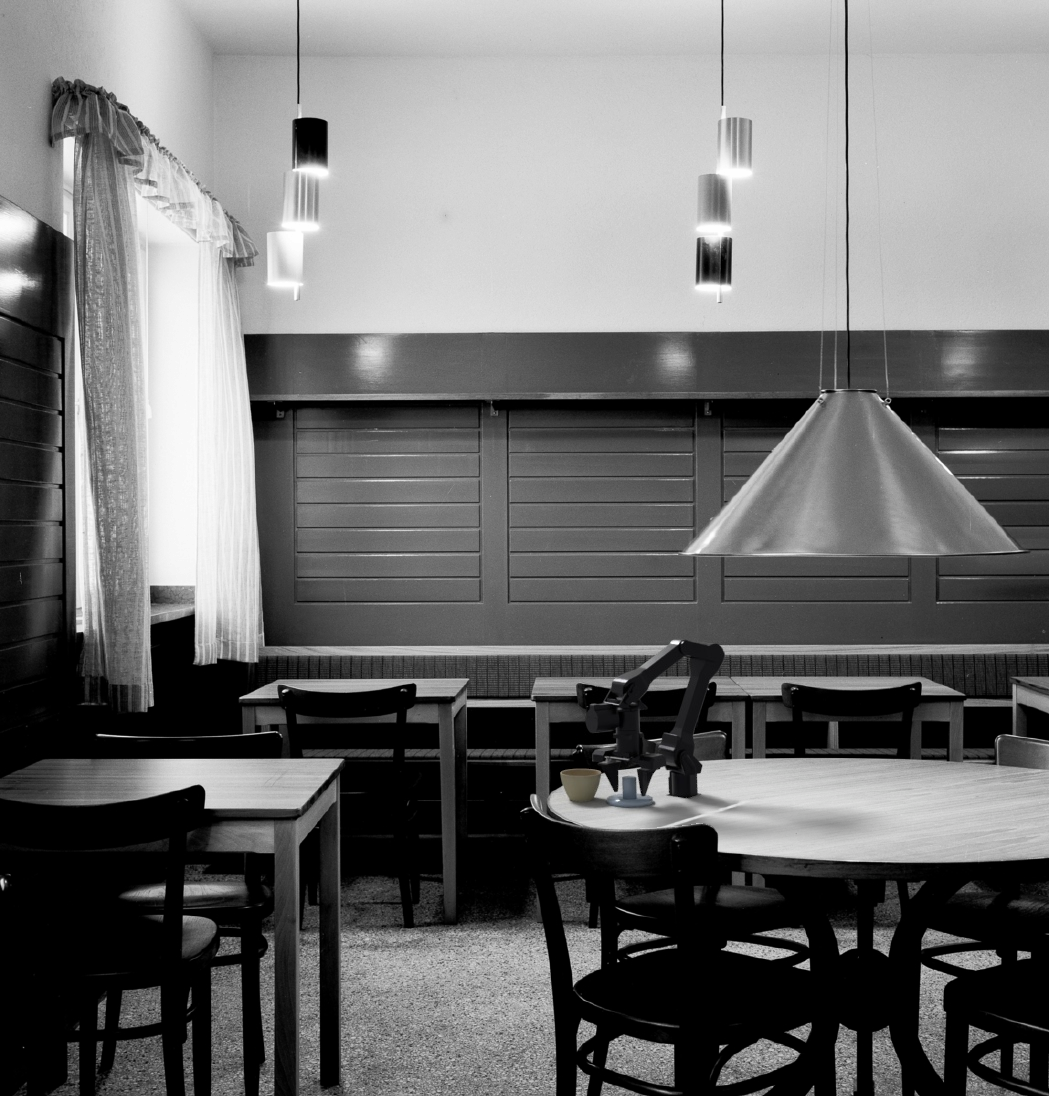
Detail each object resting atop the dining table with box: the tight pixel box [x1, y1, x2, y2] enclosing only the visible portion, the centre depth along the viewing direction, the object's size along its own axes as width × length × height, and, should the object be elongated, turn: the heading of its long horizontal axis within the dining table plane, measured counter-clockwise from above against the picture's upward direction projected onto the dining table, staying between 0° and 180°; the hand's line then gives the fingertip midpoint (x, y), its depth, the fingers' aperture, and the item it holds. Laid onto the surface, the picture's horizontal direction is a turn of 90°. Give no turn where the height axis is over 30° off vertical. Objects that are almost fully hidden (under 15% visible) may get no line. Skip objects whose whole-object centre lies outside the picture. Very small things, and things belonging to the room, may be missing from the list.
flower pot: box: [560, 768, 602, 802], centre depth 281 cm, size 10×10×7 cm
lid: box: [606, 775, 654, 808], centre depth 275 cm, size 11×11×6 cm
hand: (629, 793), depth 275 cm, fingers open, 8 cm apart
